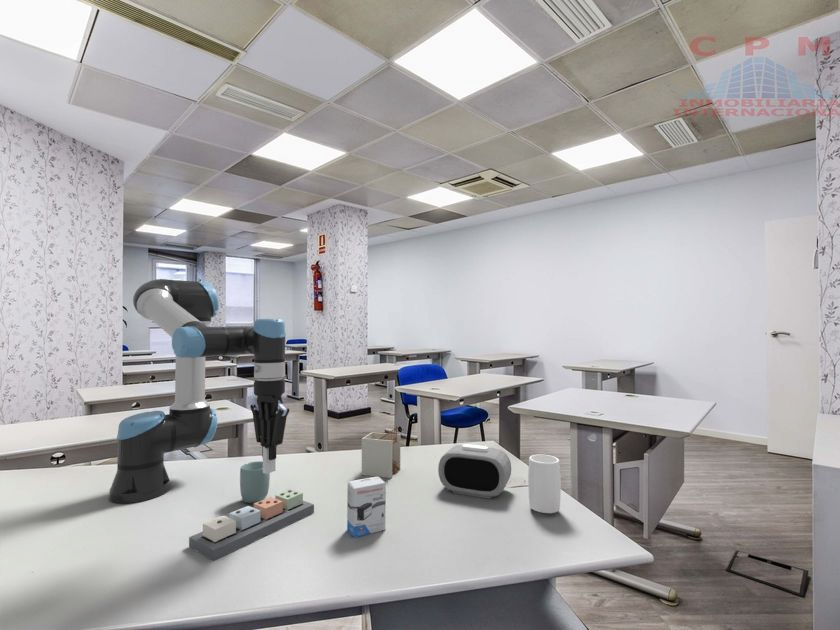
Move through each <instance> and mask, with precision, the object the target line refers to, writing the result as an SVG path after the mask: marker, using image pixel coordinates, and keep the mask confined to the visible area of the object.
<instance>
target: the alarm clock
mask: <svg viewBox="0 0 840 630" xmlns="http://www.w3.org/2000/svg"><path fill="white" fill-rule="evenodd" d="M438 462H439V463H438V469H437V470H438V471H437V472H438V478H439V480H440V482H441V484H442V485H443V486H444V487H445V488H446V489H447V490H451V491H452V493H453V494H459V495H464V496H465V495H466V496H471V497H476V498H484V499H490V500H491V499H492V498H493V497H496V496H498V495H500V494H502V493H503V491H504V490H505V488H506V486H507V484H508V483H509V480H510V478H511V475H512V462H511V459H510V457H509V455H508V454H507V453H506V451H503V450H502V449H499V448H495V447H489V446H485V445H480V444H479V445H478V444H470V443H468V444H466V443H465V444H455V445H454V446H452V447H451V448H450V449H449V450H448V451H446V452H445V453H444V454H443V455H442V456H441V458H440V459H439V461H438Z"/></svg>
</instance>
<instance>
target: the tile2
mask: <svg viewBox="0 0 840 630" xmlns="http://www.w3.org/2000/svg"><path fill="white" fill-rule="evenodd" d="M260 517H261V511H260V510H258V509H255V508H254V506H253V507H252V506H250V505H247V506H243V507H242V508H239V509H237V510H235V511H231V512H229V518H231V519H233V520H235V521H236V528H238V529H240V530H239V531H243V530H246V529H249V528H251V527H250V526H252V525H255V524H257V523H259V522H260Z"/></svg>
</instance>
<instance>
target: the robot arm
mask: <svg viewBox="0 0 840 630" xmlns="http://www.w3.org/2000/svg"><path fill="white" fill-rule="evenodd" d="M132 304H133V306H134V310H136V312H137V313H138V314H139V315H140V316H141V317H143V318H144V319H147V320H149V321H153V322H154V323H155V324H156V325H157V326H158V327H160V328H161V330H163V331H164V332H165V333H166V334H168V335H169V336H170V337H171V347H172V350H173V354H174V355H175V370H174V371H175V372H174V373H175V378H174V379H175V380H174V381H175V384H174V389H175V390H174V402H173V403H172V404H171V405H170V406H169V408H168V409H169V411H168V412H169V413H168V414H166V413H165V412H164V411H163V410H152V411H145V412H140V413H136V414H132V415H129V416H126V417H125V418H124V419H122V420H121V421H120V422H119V424H118V430H117V435H116V439H117V455H116V456H117V462H116V463H117V464H116V465H117V466H116V468H117V469H116V473H115V476H114V479H113V480H112V484H111V487H110V489H109V492H108V493H109V495H108V498H109V501H110V502H113V503H116V504H129V503H130V504H131V503H137V502H138V503H139V502H143V501H148V500H151V499H155V498H157V497H160V496H162V495H164V494H166V493H167V492H168V491H170V489H171V480H170V477H169V474H168V472H167V469H166V467H165V463H164V461H165V459H164V458H165V454H167V453H172V452H176V451H180V450H185V449H190V448H198V447H200V446H203V445H207V444H208V443H210V442H211V441H212V440H213V439H214V436H215V435H216V433H217V427H218V417H217V413H216V411H215V410H214V408H212V407H211V404H210V403H209V402H208V401H207V400H206V358H208V357H209V358H210V357H225V356H227V357H228V356H243V355H244V356H245V355H247V356H248V355H249V356H251V355H253V363H254V365H253V377H254V379H255V380H254V381H253V395H255V396H257V398H256V402H255V403H252V404H250V406H249V408H250V410H251V413H252V418H253V419H252V420H253V425H254V433H255V434H254V435H255V441H256V443H260V445H261V453H262V455H261V457H262V462H263V473H265V474H268V473H270V474H271V473H273V472H276V460H277V447H278V446H279V445H282V444H283V442H284V436H285V429H286V423H287V417H288V415H289V413H290V408H289V407H285V406H284V404H283V403H284V402H283V398H282V395H283V394H284V393H285V391H286V380H285V379H284V377H286V361H285V360H286V335H287V334H286V329H285V328H286V327H285V324H286V323H285V321H284V320H283V319H282V318H258V319H255V321H254V323H253V326H209V325H210V324H211V323H212V318H213V317H215V316H216V315H218V310H219V307H220V301H219V296H218V293H217V291H216V289H215V288H214V287H213V285H211V284H210V283H208V282H203V281H202V282H201V281H196V280H195V281H194V280H193V281H192V280H177V279H166V278H158V279H151V280H149V281H147V282H144V283H143V284H141V285H140V286H139V287H138V288H137V289H136V290H135V292H134V294H133V297H132Z"/></svg>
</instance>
